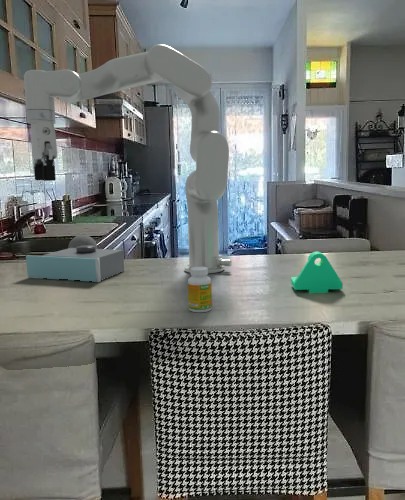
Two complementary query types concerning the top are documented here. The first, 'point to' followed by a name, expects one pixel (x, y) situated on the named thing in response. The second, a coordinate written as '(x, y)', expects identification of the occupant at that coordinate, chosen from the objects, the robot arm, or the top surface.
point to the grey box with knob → (108, 258)
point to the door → (64, 268)
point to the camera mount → (317, 276)
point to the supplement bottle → (199, 290)
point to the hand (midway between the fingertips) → (45, 180)
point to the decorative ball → (81, 241)
